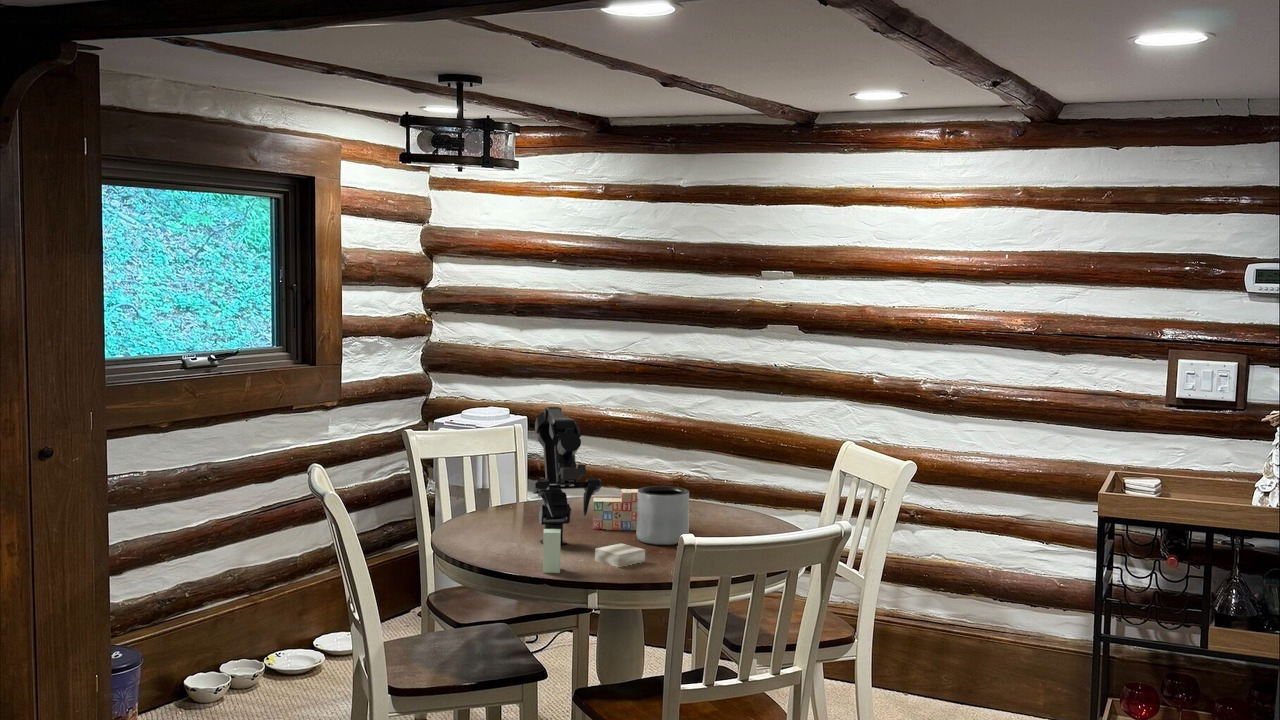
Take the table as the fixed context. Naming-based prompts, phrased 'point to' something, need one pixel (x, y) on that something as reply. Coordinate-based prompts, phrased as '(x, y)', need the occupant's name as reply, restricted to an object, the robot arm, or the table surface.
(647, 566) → the table surface
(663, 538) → the planter
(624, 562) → the cream base block
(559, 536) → the tall sage block
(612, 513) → the stack of blocks
